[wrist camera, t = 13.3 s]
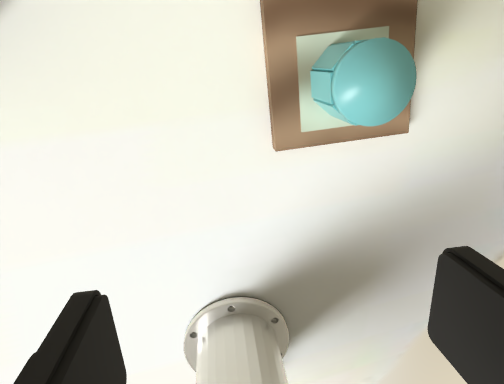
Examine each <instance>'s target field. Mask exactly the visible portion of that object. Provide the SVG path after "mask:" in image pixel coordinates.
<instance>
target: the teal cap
mask: <svg viewBox="0 0 504 384" xmlns="http://www.w3.org/2000/svg"><path fill="white" fill-rule="evenodd" d="M312 69H313V70H314V71H310V75H311V97H312V98H314V99H313V101H314V102H316V103H317V104H318V105H319V106H320V107H321V108H322V109H324V110H325V111H326V112H327V113H328V114H329V115H331V116H333V117H335V118H338V119H340V120H342V121H345V122H347V123H349V124H352V125H355V126H357V125H362V126H378V125H382V124H385V123H387V122H389V121H391V120H392V119H394V118H395V117H396V116H398V115H399V114H400V113H401V112H402V111H403V110H404V108H405V107H406V106H407V104H408V103H409V101H410V99H411V97H412V95H413V92H414V89H415V85H416V67H415V63H414V60H413V57H412V56H411V54H410V52H409V51H408V50H407V48H406V47H405V46H403V45H402V44H401V43H399V42H397V41H395V40H393V39H389V38H386V37H382V38H374V39H366V40H358V41H351V42H344V43H337V44H331V46H328V47H327V48H326V50H325V51H324V52H323V54H322V55H321V56H320V57H319V59H318V60H317V61H316V63H315V64H314V65H313V66H312Z"/></svg>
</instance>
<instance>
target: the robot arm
mask: <svg viewBox="0 0 504 384" xmlns="http://www.w3.org/2000/svg"><path fill="white" fill-rule="evenodd" d="M428 334H429V337H430V339H431V340H432V342H433V343H434V344H435V345H436V347H437V348H438V349H439V350H440V351H441V353H442V354H443V355H444V356H445V357H446V359H447V360H448V361H449V362H450V363H451V364H452V366H453V367H454V368H455V369H456V370H457V372H458V373H459V374H460V375H461V376H462V378H463V379H464V380H465V381H466V382H467V383H468V384H504V269H503V268H501V267H499V266H498V265H496V264H495V263H493V262H492V261H490V260H489V259H487V258H486V257H484V256H483V255H481V254H480V253H478V252H477V251H475V250H474V249H472V248H470V247H468V246H462V247H453V248H447V249H445V250H444V251H443V254H441V255H440V256H439V258H438V263H437V270H436V276H435V283H434V289H433V296H432V303H431V309H430V316H429V322H428ZM288 345H289V332H288V328H287V325H286V322H285V319H284V318H283V316H282V315H281V313H280V312H279V311H278V310H277V309H276V308H275V307H273V306H271V305H270V304H268V303H266V302H264V301H261V300H258V299H254V298H248V297H236V298H228V299H224V300H221V301H218V302H215V303H213V304H211V305H209V306H207V307H206V308H204V309H203V310H201V311H200V312H199V313H198V314H197V315H196V316H195V317H194V318H193V319H192V321H191V322H190V324H189V325H188V327H187V330H186V333H185V338H184V354H185V358H186V360H187V362H188V364H189V365H190V366H191V368H192V369H193V370H194V371H195V372H196V384H288V381H287V377H286V373H285V369H284V365H283V361H282V359H283V357H284V355H285V353H286V351H287V349H288ZM14 384H126V369H125V365H124V361H123V357H122V353H121V349H120V345H119V341H118V336H117V332H116V328H115V324H114V320H113V316H112V312H111V308H110V304H109V300H108V297H107V296H106V295H101V294H100V292H99V291H98V290H94V291H85V292H77V293H73V295H72V296H71V297H70V299H69V301H68V302H67V304H66V305H65V307H64V309H63V310H62V312H61V313H60V315H59V317H58V318H57V320H56V321H55V323H54V325H53V326H52V328H51V329H50V331H49V333H48V334H47V336H46V338H45V339H44V341H43V342H42V344H41V346H40V347H39V349H38V350H37V352H36V353H34V354H33V355H32V356H31V357H30V359H29V360H28V361H27V363H26V365H25V366H24V368H23V369H22V371H21V372H20V374H19V376H18V377H17V379H16V380H15V382H14Z"/></svg>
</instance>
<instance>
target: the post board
mask: <svg viewBox="0 0 504 384" xmlns="http://www.w3.org/2000/svg"><path fill="white" fill-rule="evenodd" d="M417 1H418V0H260V6H261V18H262V29H263V40H264V52H265V63H266V74H267V86H268V97H269V109H270V120H271V131H272V143H273V148H274V150H275V151H282V150H290V149H297V148H304V147H311V146H318V145H325V144H332V143H339V142H346V141H354V140H361V139H368V138H375V137H382V136H389V135H396V134H403V133H408V132H409V117H410V102H411V99H410V101H409V103H408V104H407V106H406V107H405V108H404V110H403V111H402V112H401V113H400V114H399V115H398V116H396V117H395V118H394V119H392V120H391V121H389V122H387V123H385V124H382V125H378V126H362V125H357V126H355V125H352V124H349V123H347V122H345V121H342V120H340V119H338V118H335V117H333V116H331V115H329V114H328V113H327V112H326V111H325V110H324V109H322V108H321V107H320V106H319V105H318V104H317V103H316V102H314V101H313V99H314V98H312V97H311V75H310V71H314V70H313V69H312V66H313V65H314V64H315V63H316V61H317V60H318V59H319V57H320V56H321V55H322V54H323V52H324V51H325V50H326V48H327V47H328V46H331V44H337V43H344V42H351V41H358V40H366V39H374V38H382V37H386V38H389V39H393V40H395V41H397V42H399V43H401V44H402V45H403V46H405V47H406V48H407V50H408V51H409V52H410V54H411V56H412V57H413V59H414V44H415V30H416V15H417Z"/></svg>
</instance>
